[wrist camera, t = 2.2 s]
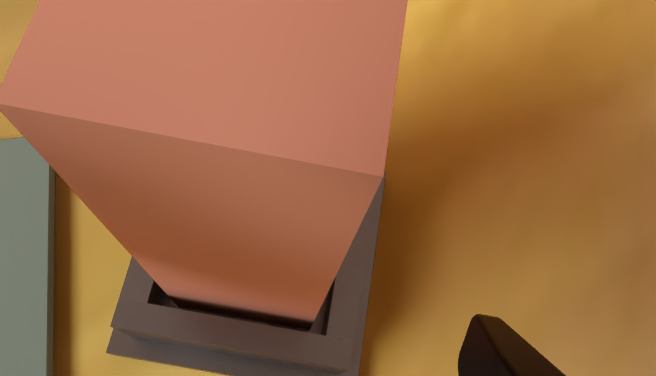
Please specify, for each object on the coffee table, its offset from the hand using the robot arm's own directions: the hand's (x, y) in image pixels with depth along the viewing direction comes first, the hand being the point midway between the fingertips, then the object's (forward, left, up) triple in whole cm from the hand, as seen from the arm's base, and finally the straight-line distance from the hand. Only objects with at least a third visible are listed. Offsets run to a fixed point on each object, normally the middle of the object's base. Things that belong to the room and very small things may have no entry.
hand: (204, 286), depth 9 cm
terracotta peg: (+2, +2, -9) cm, 10 cm away
